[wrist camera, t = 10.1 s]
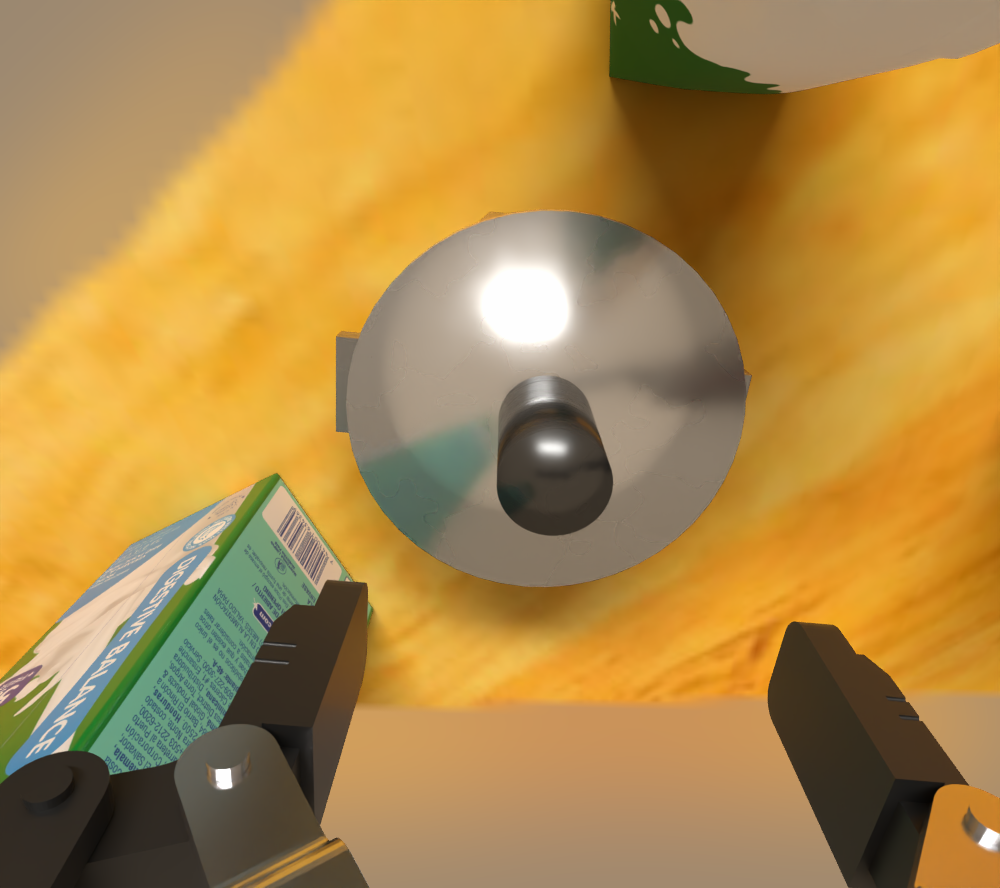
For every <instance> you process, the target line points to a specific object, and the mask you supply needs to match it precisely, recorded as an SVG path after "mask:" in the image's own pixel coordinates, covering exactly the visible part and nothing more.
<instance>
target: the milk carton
mask: <svg viewBox="0 0 1000 888" xmlns="http://www.w3.org/2000/svg"><path fill="white" fill-rule="evenodd" d="M327 580H338V581H350V582H354V581H353V580H352V578H351V577H350V576H349V574H348V573H347V571H346V570H345V569H344V567H343V566H342V564H341V563H340V561H339V560H338V559H337V557H336V556H335V554H334V553H333V551H332V550H331V549H330V547H329V546H328V544H327V543H326V542H325V540H324V539H323V537H322V536H321V534H320V533H319V532H318V530H317V529H316V527H315V526H314V525H313V523H312V522H311V520H310V519H309V517H308V516H307V515H306V513H305V512H304V510H303V509H302V508H301V506H300V505H299V503H298V502H297V500H296V499H295V498H294V496H293V495H292V493H291V492H290V491H289V489H288V488H287V486H286V485H285V483H284V482H283V481H282V479H281V478H280V476H279V475H278V474H277V473H276V474H273V475H271V476H269V477H267V478H265V479H263V480H261V481H259V482H257V483H255V484H253V485H251V486H249V487H247V488H245V489H243V490H241V491H239V492H237V493H235V494H233V495H231V496H229V497H227V498H225V499H223V500H221V501H219V502H217V503H215V504H213V505H210V506H208V507H206V508H204V509H202V510H200V511H198V512H196V513H194V514H192V515H190V516H188V517H186V518H184V519H182V520H180V521H178V522H176V523H174V524H172V525H170V526H168V527H166V528H164V529H162V530H160V531H158V532H156V533H154V534H152V535H150V536H148V537H146V538H144V539H142V540H140V541H138V542H136V543H134V544H132V545H130V546H129V547H128V548H127V549H126V550H125V552H124V553H123V554H122V555H121V556H120V557H119V558H118V559H117V560H116V561H115V562H114V563H113V564H112V565H111V566H110V567H109V568H108V569H107V570H106V571H105V572H104V573H103V574H102V575H101V576H100V577H99V578H98V579H97V580H96V581H95V582H94V584H93V585H92V586H91V587H90V588H89V589H88V590H87V591H86V592H85V593H84V594H83V595H82V596H81V597H80V598H79V599H78V600H77V601H76V602H75V603H74V604H73V605H72V606H71V607H70V608H69V609H68V610H67V611H66V612H65V613H64V615H63V616H62V617H61V618H60V619H59V620H58V621H57V622H56V623H55V624H54V625H53V626H52V627H51V628H50V629H49V630H48V631H47V632H46V633H45V634H44V635H43V636H42V637H41V638H40V639H39V640H38V641H37V642H36V643H35V644H34V645H33V647H32V648H31V649H30V650H29V651H28V652H27V653H26V654H25V655H24V656H23V657H22V658H21V659H20V660H19V661H18V662H17V663H16V664H15V665H14V666H13V667H12V668H11V669H10V670H9V671H8V672H7V673H6V674H5V675H4V676H3V677H2V679H1V680H0V784H1V783H2V782H3V781H4V780H5V779H6V778H7V777H8V776H10V775H11V774H12V773H14V772H15V771H16V770H18V769H19V768H21V767H23V766H24V765H26V764H28V763H30V762H32V761H34V760H36V759H39V758H41V757H44V756H47V755H50V754H54V753H58V752H64V751H86V752H90V753H93V754H95V755H97V756H99V757H100V758H102V759H103V760H104V761H105V763H106V764H107V766H108V769H109V773H110V775H112V774H117V773H123V772H128V771H134V770H139V769H145V768H150V767H155V766H160V765H164V764H167V763H170V762H173V761H176V760H178V759H179V757H180V755H181V754H182V753H183V751H184V750H185V749H186V748H187V747H188V746H189V745H190V744H191V743H192V742H193V741H195V740H196V739H197V738H198V737H200V736H202V735H203V734H205V733H207V732H209V731H211V730H214V729H216V728H218V727H219V725H220V723H221V721H222V719H223V717H224V716H225V714H226V712H227V710H228V708H229V706H230V704H231V702H232V700H233V698H234V696H235V695H236V693H237V691H238V689H239V687H240V685H241V683H242V681H243V679H244V677H245V675H246V674H247V672H248V670H249V668H250V666H251V664H252V662H254V660H255V656H256V654H257V653H258V651H259V649H260V647H261V645H263V641H264V639H265V637H266V635H267V634H268V632H269V630H270V628H271V626H272V624H273V622H274V621H275V620H276V619H277V618H278V617H279V616H281V615H282V614H283V613H284V612H286V611H287V610H288V609H289V608H291V607H292V606H293V605H294V604H298V605H310V606H315V603H316V601H317V599H318V597H319V595H320V592H321V590H322V588H323V586H324V584H325V582H326V581H327ZM372 612H373V608H372V607H371V605H370V604H369V603H368V614H367V629H368V626H369V622H370V619H371V616H372Z"/></svg>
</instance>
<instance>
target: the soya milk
mask: <svg viewBox="0 0 1000 888" xmlns="http://www.w3.org/2000/svg"><path fill="white" fill-rule="evenodd" d="M998 43H1000V0H611V8H610V72H609V76H610V77H614V78H620V79H626V80H631V81H637V82H642V83H648V84H654V85H660V86H667V87H674V88H680V89H689V90H703V91H716V92H731V93H747V94H780V93H789V92H796V91H802V90H806V89H811V88H815V87H820V86H824V85H829V84H833V83H838V82H842V81H847V80H851V79H856V78H860V77H864V76H869V75H873V74H878V73H882V72H887V71H891V70H896V69H900V68H904V67H909V66H913V65H916V64H920V63H923V62H927V61H931V60H934V59H938V58H950V59H958V58H961V57H964V56H967V55H970V54H973V53H976V52H978V51H981V50H983V49H986V48H988V47H991V46H993V45H996V44H998Z"/></svg>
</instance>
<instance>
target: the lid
mask: <svg viewBox="0 0 1000 888" xmlns="http://www.w3.org/2000/svg"><path fill="white" fill-rule="evenodd" d="M745 401H746V385H745V375H744V366H743V361H742V357H741V353H740V349H739V345H738V341H737V338H736V335H735V333H734V331H733V328H732V326H731V323H730V321H729V319H728V316H727V314H726V313H725V311H724V309H723V308H722V306H721V304H720V303H719V301H718V299H717V298H716V296H715V294H714V293H713V291H712V290H711V289H710V288H709V287H708V285H707V284H706V283H705V282H704V280H703V279H702V278H701V277H700V276H699V274H698V273H697V272H696V271H695V270H694V269H693V268H692V267H691V266H689V265H688V264H687V263H686V262H685V261H684V260H683V259H682V258H681V257H680V256H678V255H677V254H676V253H675V252H673V251H672V250H670V249H669V248H667V247H666V246H664V245H663V244H661V243H660V242H658V241H657V240H655V239H654V238H652V237H651V236H649V235H647V234H645V233H643V232H640V231H638V230H636V229H634V228H632V227H630V226H628V225H626V224H624V223H621V222H618V221H615V220H612V219H608V218H605V217H602V216H599V215H595V214H589V213H583V212H577V211H571V210H547V209H539V210H530V211H521V212H512V213H508V214H504V215H500V216H496V217H492V218H488V219H485V220H482V221H480V222H477V223H475V224H472V225H470V226H467V227H465V228H462V229H460V230H458V231H456V232H455V233H453V234H451V235H449V236H448V237H446V238H444V239H442V240H441V241H439V242H437V243H435V244H434V245H433V246H431V247H430V248H429V249H428V250H426V251H425V252H424V253H422V254H421V255H420V256H419V257H417V258H416V259H415V260H413V261H412V262H411V263H410V265H409V266H408V267H407V268H406V269H405V270H404V271H403V272H402V273H401V274H400V275H399V276H398V277H397V278H396V279H395V280H394V281H393V282H392V283H391V284H390V286H389V287H388V288H387V290H386V291H385V293H384V294H383V295H382V297H381V298H380V299H379V301H378V302H377V303H376V305H375V306H374V308H373V310H372V312H371V314H370V316H369V317H368V319H367V321H366V323H365V325H364V327H363V328H362V331H361V334H360V336H359V339H358V342H357V345H356V347H355V350H354V353H353V357H352V361H351V366H350V371H349V375H348V384H347V397H346V409H347V425H348V431H349V436H350V441H351V446H352V451H353V453H354V456H355V459H356V462H357V465H358V468H359V470H360V473H361V475H362V477H363V479H364V481H365V483H366V485H367V487H368V489H369V491H370V493H371V495H372V496H373V497H374V499H375V500H376V502H377V503H378V505H379V506H380V508H381V509H382V511H383V512H384V513H385V514H386V516H387V517H388V518H389V519H390V520H391V521H392V522H393V523H394V525H395V526H396V527H397V528H398V529H399V530H400V531H401V532H402V533H403V534H404V535H406V536H407V537H408V538H409V539H410V540H411V541H412V542H414V543H415V544H416V545H417V546H418V547H420V548H421V549H423V550H424V551H426V552H427V553H429V554H430V555H432V556H433V557H435V558H436V559H438V560H440V561H442V562H444V563H446V564H448V565H450V566H451V567H453V568H455V569H457V570H460V571H463V572H465V573H468V574H471V575H473V576H476V577H478V578H482V579H486V580H490V581H494V582H498V583H503V584H510V585H517V586H527V587H554V586H566V585H574V584H579V583H584V582H589V581H594V580H597V579H600V578H604V577H607V576H610V575H613V574H616V573H619V572H621V571H623V570H626V569H628V568H630V567H632V566H635V565H637V564H639V563H641V562H642V561H644V560H646V559H647V558H649V557H651V556H653V555H654V554H656V553H658V552H659V551H661V550H662V549H663V548H665V547H666V546H667V545H669V544H670V543H671V542H673V541H674V540H675V539H677V538H678V537H679V536H680V535H681V534H682V533H683V532H684V531H685V530H686V529H687V528H688V527H690V526H691V525H692V524H693V523H694V522H695V521H696V519H697V518H698V517H699V516H700V515H701V513H702V512H703V511H704V510H705V509H706V507H707V506H708V505H709V504H710V502H711V501H712V499H713V498H714V496H715V495H716V493H717V491H718V490H719V488H720V487H721V485H722V484H723V482H724V480H725V477H726V475H727V473H728V471H729V469H730V467H731V465H732V463H733V460H734V457H735V454H736V451H737V448H738V445H739V442H740V439H741V433H742V428H743V422H744V417H745Z"/></svg>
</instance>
